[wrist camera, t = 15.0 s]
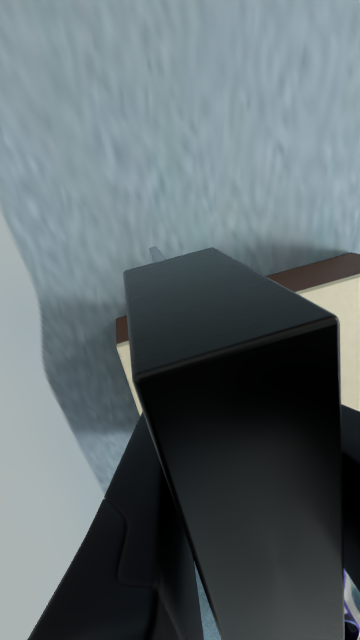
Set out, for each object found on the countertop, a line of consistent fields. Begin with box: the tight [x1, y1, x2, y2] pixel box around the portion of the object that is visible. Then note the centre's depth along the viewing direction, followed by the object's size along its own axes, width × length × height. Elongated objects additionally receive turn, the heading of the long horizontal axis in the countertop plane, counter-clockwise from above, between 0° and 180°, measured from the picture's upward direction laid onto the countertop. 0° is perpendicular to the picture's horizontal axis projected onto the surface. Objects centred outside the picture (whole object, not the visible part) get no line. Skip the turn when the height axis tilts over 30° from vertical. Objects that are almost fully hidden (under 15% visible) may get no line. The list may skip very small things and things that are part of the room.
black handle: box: [123, 247, 345, 640], centre depth 9 cm, size 2×8×10 cm, turn 13°
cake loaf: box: [266, 253, 360, 411], centre depth 22 cm, size 9×10×4 cm
